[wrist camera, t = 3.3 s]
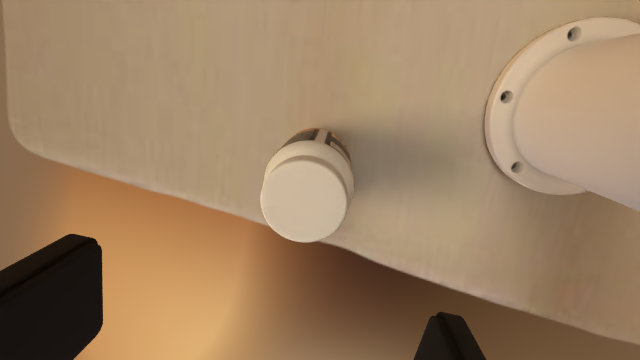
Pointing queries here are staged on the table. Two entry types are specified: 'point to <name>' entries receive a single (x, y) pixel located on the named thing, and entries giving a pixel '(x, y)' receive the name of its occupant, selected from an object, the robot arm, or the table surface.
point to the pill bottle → (308, 186)
